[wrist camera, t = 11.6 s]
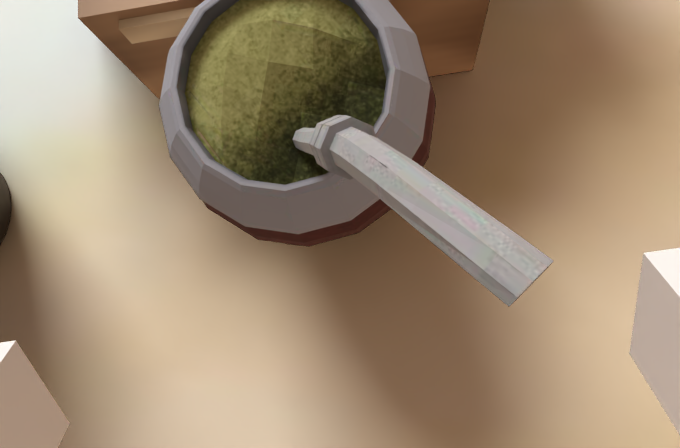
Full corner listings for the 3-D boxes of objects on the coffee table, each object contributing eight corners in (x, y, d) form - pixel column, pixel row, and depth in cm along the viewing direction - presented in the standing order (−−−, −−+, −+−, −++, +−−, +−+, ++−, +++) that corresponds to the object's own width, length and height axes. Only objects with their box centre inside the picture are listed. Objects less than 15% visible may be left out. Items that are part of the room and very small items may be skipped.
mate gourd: (248, 50, 21) (-126, -506, 6) (461, 73, 20) (653, -513, 5) (215, 248, 20) (-285, 185, 5) (432, 281, 19) (551, 314, 4)
